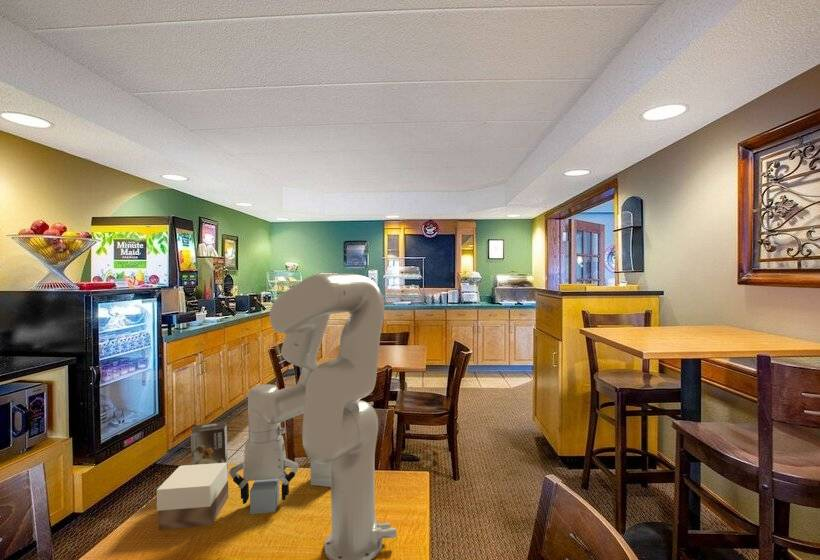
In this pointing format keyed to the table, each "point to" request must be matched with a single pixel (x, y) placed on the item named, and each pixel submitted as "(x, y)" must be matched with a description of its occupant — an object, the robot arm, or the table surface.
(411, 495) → the table surface
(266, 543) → the table surface
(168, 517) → the tower base block
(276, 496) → the stack block
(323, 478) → the supplement box
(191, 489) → the tower top block
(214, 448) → the coffee box
